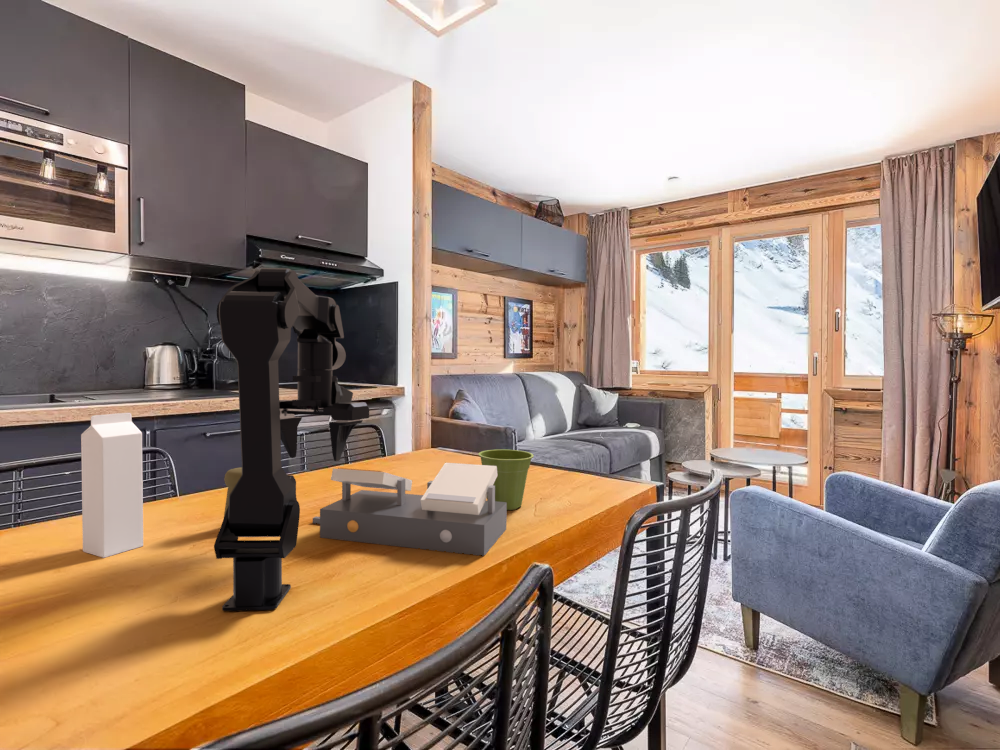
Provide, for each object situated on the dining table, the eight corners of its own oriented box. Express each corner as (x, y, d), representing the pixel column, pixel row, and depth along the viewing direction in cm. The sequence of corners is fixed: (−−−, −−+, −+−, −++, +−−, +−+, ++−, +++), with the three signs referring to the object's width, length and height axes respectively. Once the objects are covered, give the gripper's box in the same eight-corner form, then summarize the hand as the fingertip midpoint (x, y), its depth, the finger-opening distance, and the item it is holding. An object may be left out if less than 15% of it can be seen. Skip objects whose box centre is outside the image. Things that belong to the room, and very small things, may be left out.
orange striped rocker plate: (382, 484, 90) (384, 471, 91) (330, 479, 93) (333, 467, 93) (410, 490, 101) (412, 479, 102) (363, 487, 104) (365, 475, 104)
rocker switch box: (483, 556, 84) (484, 497, 84) (289, 534, 94) (289, 481, 94) (506, 529, 98) (506, 478, 98) (335, 512, 107) (335, 465, 107)
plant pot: (501, 517, 105) (502, 461, 105) (466, 504, 114) (467, 452, 114) (544, 507, 112) (545, 455, 112) (508, 496, 122) (509, 447, 121)
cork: (244, 534, 94) (243, 472, 93) (214, 531, 95) (213, 470, 95) (265, 523, 100) (265, 465, 99) (237, 521, 101) (237, 464, 100)
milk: (82, 552, 85) (79, 414, 84) (123, 540, 90) (120, 411, 89) (104, 558, 82) (100, 416, 81) (144, 546, 87) (142, 413, 87)
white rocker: (478, 514, 86) (477, 503, 86) (422, 509, 89) (420, 498, 88) (497, 475, 97) (496, 465, 96) (446, 471, 100) (445, 461, 99)
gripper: (386, 370, 97) (385, 455, 97) (302, 369, 103) (301, 449, 103) (350, 370, 86) (349, 465, 87) (259, 369, 92) (258, 458, 93)
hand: (314, 459), depth 92 cm, fingers open, 9 cm apart
